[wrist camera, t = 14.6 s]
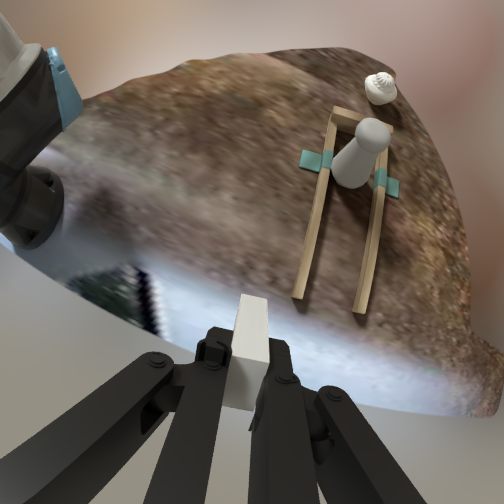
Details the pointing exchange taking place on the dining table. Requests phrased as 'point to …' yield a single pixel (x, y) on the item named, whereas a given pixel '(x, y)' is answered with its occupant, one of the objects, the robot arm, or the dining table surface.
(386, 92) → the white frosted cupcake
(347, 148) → the salt shaker
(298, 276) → the guide rails
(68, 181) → the dining table surface
